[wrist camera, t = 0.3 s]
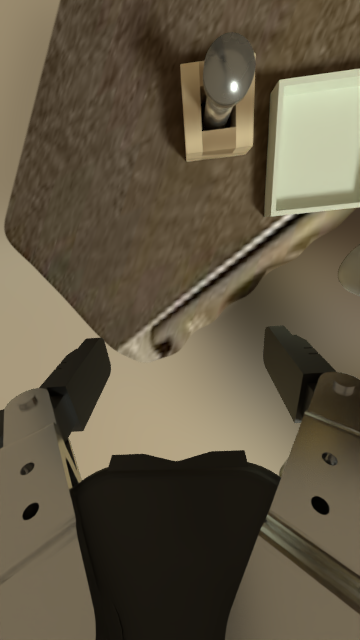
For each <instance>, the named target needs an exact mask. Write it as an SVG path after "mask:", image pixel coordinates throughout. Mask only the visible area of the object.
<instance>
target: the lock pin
mask: <svg viewBox="0 0 360 640" xmlns="http://www.w3.org/2000/svg"><path fill="white" fill-rule="evenodd" d="M254 73H255V55H254V51H253V49H252V46H251V44H250V43H249V41H248V40H247V39H246V38H245V37H244V36H242V35H240V34H238V33H233V32H232V33H226V34H223V35H221V36H220V37H218V38H217V39H216V40H215V41H214V42H213V43H212V45H211V46H210V48H209V50H208V52H207V54H206V57H205V61H204V68H203V87H204V90H205V93H206V95H207V99H206V105H205V111H204V117H203V127H204V129H205V131H209V130H216V129H224V127H225V125H226V123H227V120H228V118H229V115H230V113H231V111H232V108H233V106H235V105H237V104H238V103H239V102H240V101H241V100H242V99H243V98H244V97H245V95H246V94H247V92H248V90H249V88H250V85H251V83H252V81H253V78H254Z"/></svg>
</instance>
